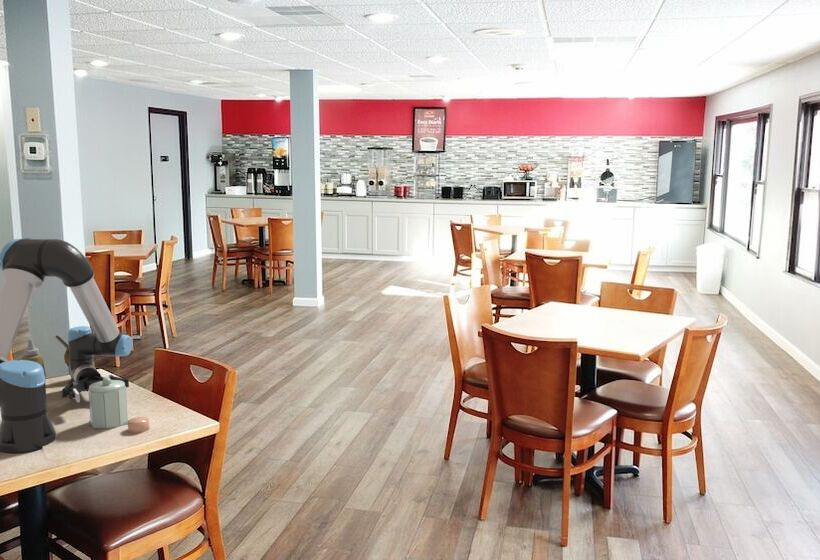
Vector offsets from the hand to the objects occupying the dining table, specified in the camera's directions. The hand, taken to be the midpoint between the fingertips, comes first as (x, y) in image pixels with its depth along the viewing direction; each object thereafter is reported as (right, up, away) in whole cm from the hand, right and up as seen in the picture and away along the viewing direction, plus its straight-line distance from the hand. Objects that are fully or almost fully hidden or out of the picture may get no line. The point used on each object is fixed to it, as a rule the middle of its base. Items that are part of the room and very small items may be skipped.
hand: (101, 394), depth 231 cm
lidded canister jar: (+5, -8, -7) cm, 11 cm away
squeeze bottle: (-36, -3, +28) cm, 45 cm away
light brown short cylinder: (+16, -9, -12) cm, 22 cm away
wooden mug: (-25, -1, +39) cm, 46 cm away
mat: (+5, -8, -7) cm, 12 cm away
